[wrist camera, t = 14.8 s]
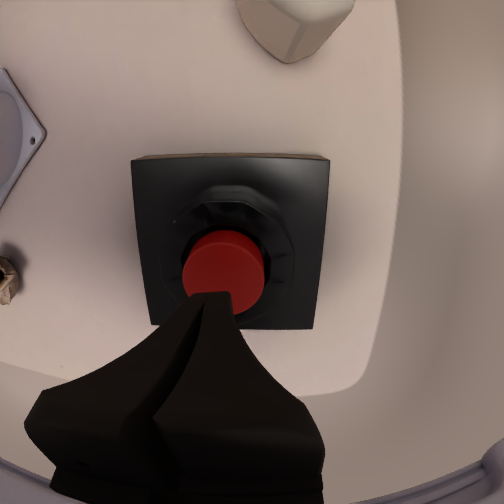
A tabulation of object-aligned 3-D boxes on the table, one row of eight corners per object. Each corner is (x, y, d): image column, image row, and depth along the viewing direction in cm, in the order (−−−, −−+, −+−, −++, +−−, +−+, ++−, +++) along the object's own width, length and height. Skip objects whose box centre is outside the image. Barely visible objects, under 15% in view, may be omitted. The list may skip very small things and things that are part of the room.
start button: (262, 297, 16) (263, 316, 14) (192, 295, 16) (185, 314, 14) (264, 229, 14) (265, 243, 13) (186, 228, 14) (178, 242, 13)
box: (307, 310, 20) (317, 348, 17) (159, 306, 20) (142, 343, 17) (321, 155, 16) (340, 164, 13) (144, 155, 16) (115, 165, 13)
